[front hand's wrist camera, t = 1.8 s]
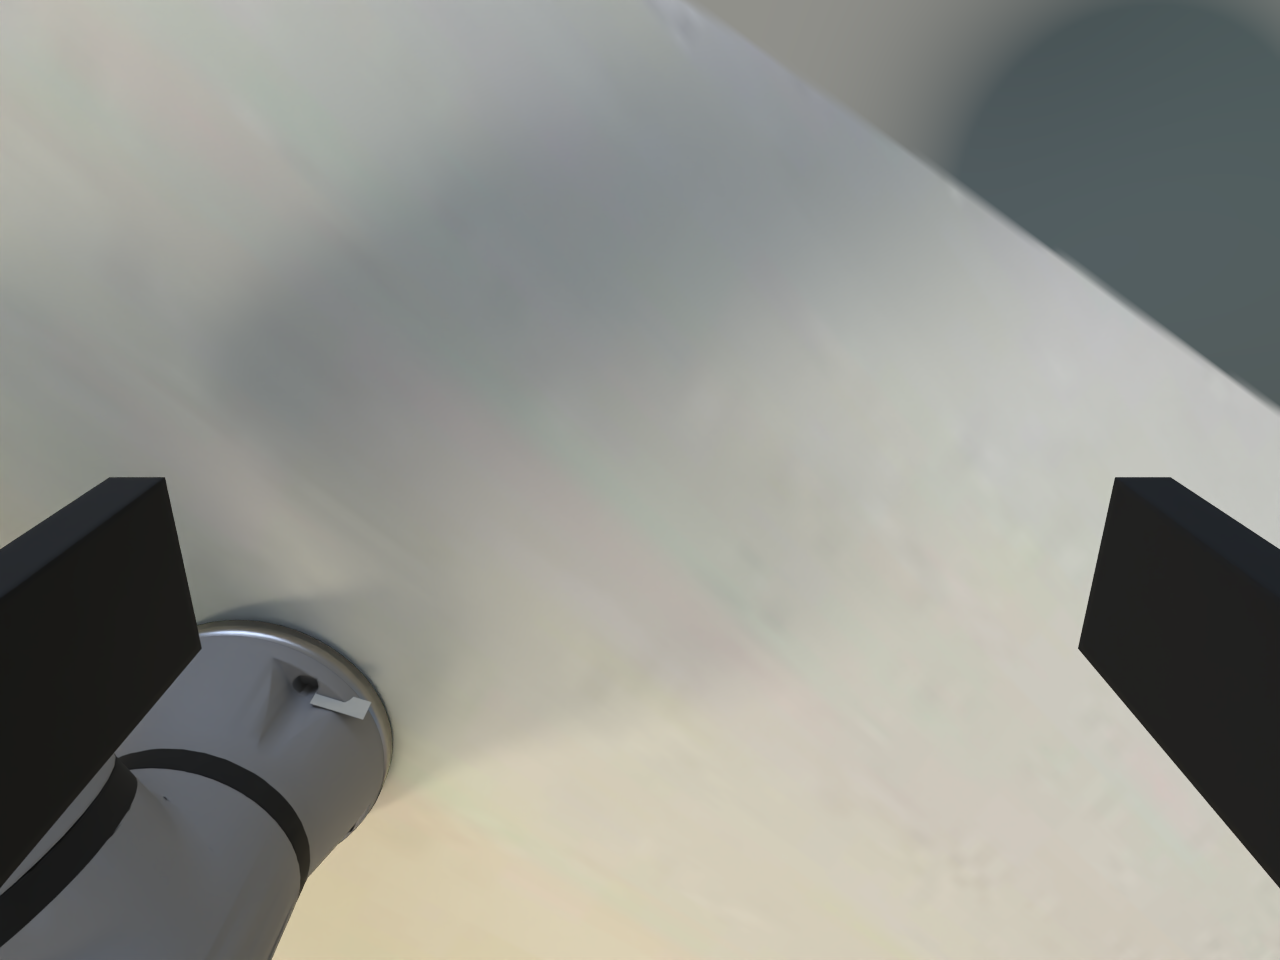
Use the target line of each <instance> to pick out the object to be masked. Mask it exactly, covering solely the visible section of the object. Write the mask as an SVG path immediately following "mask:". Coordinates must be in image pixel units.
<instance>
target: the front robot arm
mask: <svg viewBox="0 0 1280 960" xmlns="http://www.w3.org/2000/svg"><path fill="white" fill-rule="evenodd" d="M1078 649H1079V650H1080V651H1081V652H1082V654H1083V655H1084V656H1085V657H1086V658H1087V660H1088V661H1089V662H1090V663H1091V664H1092V666H1093V667H1094V668H1095V669H1096V670H1097V672H1098V673H1099V674H1100V675H1101V676H1102V677H1103V679H1104V680H1105V681H1106V682H1107V683H1108V685H1109V686H1110V687H1111V688H1112V689H1113V691H1114V692H1115V693H1116V694H1117V695H1118V696H1119V698H1120V699H1121V700H1122V701H1123V702H1124V704H1125V705H1126V706H1127V707H1128V708H1129V710H1130V711H1131V712H1132V713H1133V714H1134V715H1135V717H1136V718H1137V719H1138V720H1139V721H1140V723H1141V724H1142V725H1143V726H1144V727H1145V729H1146V730H1147V731H1148V732H1149V733H1150V734H1151V736H1152V737H1153V738H1154V739H1155V740H1156V742H1157V743H1158V744H1159V745H1160V746H1161V748H1162V749H1163V750H1164V751H1165V752H1166V754H1167V755H1168V756H1169V757H1170V758H1171V759H1172V761H1173V762H1174V763H1175V764H1176V765H1177V767H1178V768H1179V769H1180V770H1181V771H1182V773H1183V774H1184V775H1185V776H1186V777H1187V778H1188V780H1189V781H1190V782H1191V783H1192V784H1193V786H1194V787H1195V788H1196V789H1197V790H1198V792H1199V793H1200V794H1201V795H1202V796H1203V797H1204V799H1205V800H1206V801H1207V802H1208V803H1209V805H1210V806H1211V807H1212V808H1213V809H1214V811H1215V812H1216V813H1217V814H1218V815H1219V817H1220V818H1221V819H1222V820H1223V821H1224V822H1225V824H1226V825H1227V826H1228V827H1229V828H1230V830H1231V831H1232V832H1233V833H1234V834H1235V836H1236V837H1237V838H1238V839H1239V840H1240V841H1241V843H1242V844H1243V845H1244V846H1245V847H1246V849H1247V850H1248V851H1249V852H1250V853H1251V855H1252V856H1253V857H1254V858H1255V859H1256V860H1257V862H1258V863H1259V864H1260V865H1261V866H1262V868H1263V869H1264V870H1265V871H1266V872H1267V874H1268V875H1269V876H1270V877H1271V878H1272V879H1273V881H1274V882H1275V883H1276V884H1277V885H1278V887H1279V888H1280V549H1278V548H1277V547H1275V546H1274V545H1272V544H1271V543H1269V542H1268V541H1266V540H1265V539H1263V538H1262V537H1260V536H1259V535H1257V534H1256V533H1254V532H1253V531H1251V530H1250V529H1248V528H1247V527H1245V526H1244V525H1242V524H1241V523H1239V522H1237V521H1236V520H1234V519H1233V518H1231V517H1230V516H1228V515H1227V514H1225V513H1224V512H1222V511H1221V510H1219V509H1218V508H1216V507H1215V506H1213V505H1212V504H1210V503H1209V502H1207V501H1206V500H1204V499H1203V498H1201V497H1200V496H1198V495H1197V494H1195V493H1193V492H1192V491H1190V490H1189V489H1187V488H1186V487H1184V486H1183V485H1181V484H1180V483H1178V482H1177V481H1175V480H1174V479H1172V478H1171V477H1115V480H1114V485H1113V490H1112V494H1111V499H1110V503H1109V508H1108V513H1107V517H1106V522H1105V527H1104V531H1103V536H1102V540H1101V545H1100V550H1099V554H1098V559H1097V563H1096V568H1095V573H1094V577H1093V582H1092V587H1091V591H1090V596H1089V600H1088V605H1087V610H1086V614H1085V619H1084V624H1083V628H1082V633H1081V637H1080V642H1079V647H1078ZM391 757H392V734H391V728H390V723H389V720H388V717H387V713H386V711H385V709H384V706H383V704H382V702H381V700H380V698H379V697H378V695H377V693H376V691H375V690H374V689H373V687H372V686H371V684H370V683H369V682H368V680H367V679H366V678H365V677H364V676H363V674H362V673H361V672H360V671H359V670H358V669H357V668H356V667H355V666H354V665H353V664H352V663H351V662H349V661H348V660H347V659H346V658H345V657H343V656H342V655H341V654H339V653H338V652H337V651H335V650H334V649H332V648H331V647H329V646H327V645H326V644H324V643H322V642H321V641H319V640H317V639H315V638H313V637H311V636H308V635H306V634H304V633H301V632H299V631H296V630H293V629H290V628H287V627H284V626H280V625H276V624H271V623H266V622H259V621H249V620H225V621H217V622H210V623H206V624H201V625H198V626H197V624H196V619H195V614H194V610H193V605H192V600H191V596H190V591H189V587H188V582H187V577H186V573H185V568H184V563H183V559H182V554H181V550H180V545H179V540H178V536H177V531H176V527H175V522H174V517H173V513H172V508H171V503H170V499H169V494H168V490H167V485H166V480H165V477H109V478H108V479H106V480H105V481H103V482H102V483H100V484H99V485H97V486H96V487H94V488H93V489H91V490H90V491H88V492H87V493H85V494H83V495H82V496H80V497H79V498H77V499H76V500H74V501H73V502H71V503H70V504H68V505H67V506H65V507H64V508H62V509H61V510H59V511H58V512H56V513H55V514H53V515H52V516H50V517H49V518H47V519H46V520H44V521H43V522H41V523H39V524H38V525H36V526H35V527H33V528H32V529H30V530H29V531H27V532H26V533H24V534H23V535H21V536H20V537H18V538H17V539H15V540H14V541H12V542H11V543H9V544H8V545H6V546H5V547H3V548H2V549H0V960H272V957H273V955H274V953H275V950H276V948H277V946H278V943H279V941H280V939H281V937H282V934H283V932H284V930H285V927H286V925H287V923H288V921H289V918H290V916H291V914H292V911H293V909H294V907H295V904H296V902H297V900H298V898H299V895H300V893H301V891H302V889H303V886H304V884H305V882H306V880H307V878H308V877H309V876H310V874H311V873H312V872H313V871H314V870H315V869H316V868H317V867H318V866H319V865H320V863H321V862H322V861H323V860H324V859H325V858H326V857H327V856H328V855H329V854H330V852H331V851H332V850H333V849H334V848H335V847H336V846H337V845H338V844H339V843H340V842H342V841H343V840H344V839H346V838H347V837H348V836H349V835H350V834H351V833H352V832H353V831H354V830H355V829H356V828H357V827H358V826H359V825H360V824H361V822H362V821H363V820H364V818H365V817H366V816H367V814H368V813H369V812H370V810H371V809H372V807H373V806H374V804H375V802H376V800H377V798H378V796H379V794H380V792H381V789H382V786H383V784H384V781H385V779H386V776H387V773H388V770H389V767H390V763H391Z"/></svg>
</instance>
